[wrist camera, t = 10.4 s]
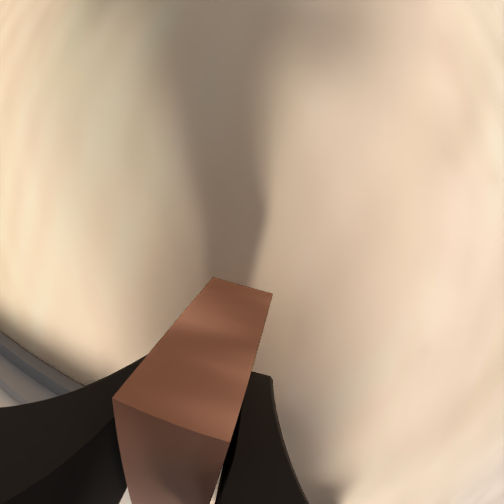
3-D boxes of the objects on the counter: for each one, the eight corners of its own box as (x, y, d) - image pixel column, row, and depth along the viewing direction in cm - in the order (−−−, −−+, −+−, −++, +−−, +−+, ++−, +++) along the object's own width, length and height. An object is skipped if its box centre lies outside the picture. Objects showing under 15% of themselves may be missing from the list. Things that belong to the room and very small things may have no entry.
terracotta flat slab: (272, 293, 10) (229, 442, 4) (241, 402, 11) (199, 529, 5) (213, 277, 10) (112, 398, 4) (194, 387, 11) (132, 505, 5)
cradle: (195, 434, 15) (179, 471, 12) (184, 502, 19) (174, 526, 16) (-14, 319, 17) (-37, 334, 14) (16, 410, 21) (1, 425, 18)
